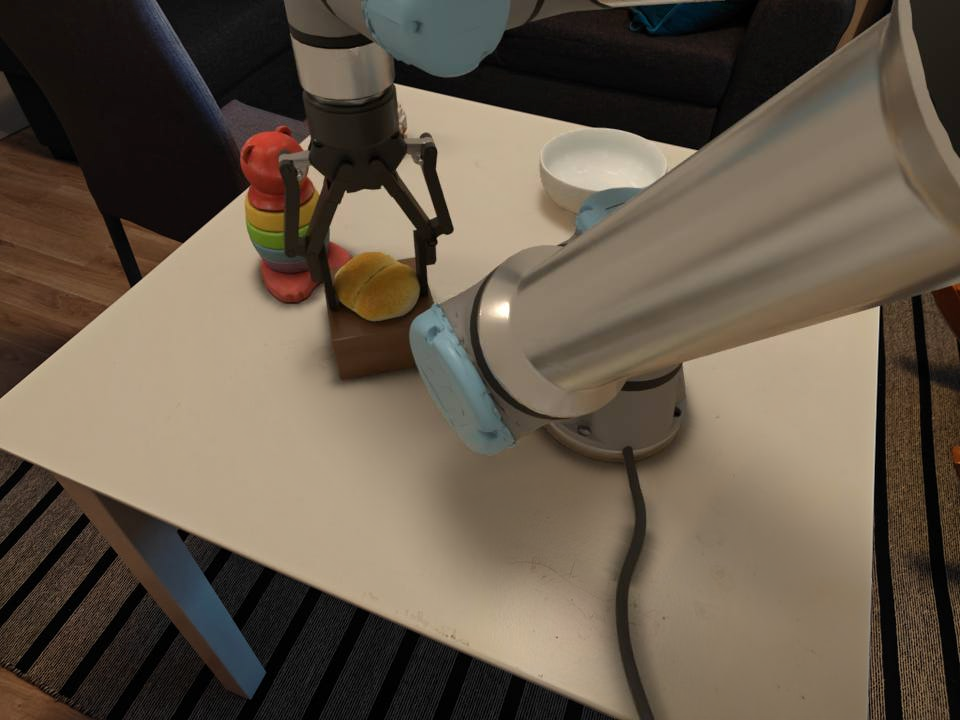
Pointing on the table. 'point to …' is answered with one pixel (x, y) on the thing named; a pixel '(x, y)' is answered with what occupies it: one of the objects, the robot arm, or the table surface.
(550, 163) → the cereal bowl
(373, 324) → the walnut block
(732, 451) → the table surface
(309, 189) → the stacking bear
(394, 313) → the bread roll
